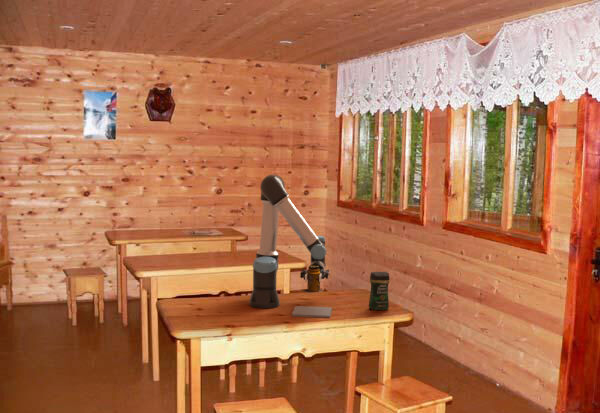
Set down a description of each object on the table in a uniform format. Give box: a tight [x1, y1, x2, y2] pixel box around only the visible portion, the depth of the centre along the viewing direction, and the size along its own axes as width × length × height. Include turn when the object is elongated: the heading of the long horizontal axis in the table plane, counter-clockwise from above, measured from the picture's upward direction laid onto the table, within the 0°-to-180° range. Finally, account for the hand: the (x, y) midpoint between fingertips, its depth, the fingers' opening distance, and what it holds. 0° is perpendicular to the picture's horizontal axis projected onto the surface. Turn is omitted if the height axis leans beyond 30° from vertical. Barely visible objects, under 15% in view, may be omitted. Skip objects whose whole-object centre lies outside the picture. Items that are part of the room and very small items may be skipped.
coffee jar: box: [368, 271, 391, 311], centre depth 321 cm, size 10×8×19 cm
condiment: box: [300, 265, 324, 294], centre depth 310 cm, size 7×8×12 cm
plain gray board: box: [291, 305, 333, 319], centre depth 312 cm, size 18×16×1 cm
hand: (312, 278), depth 305 cm, fingers closed on condiment, 6 cm apart
